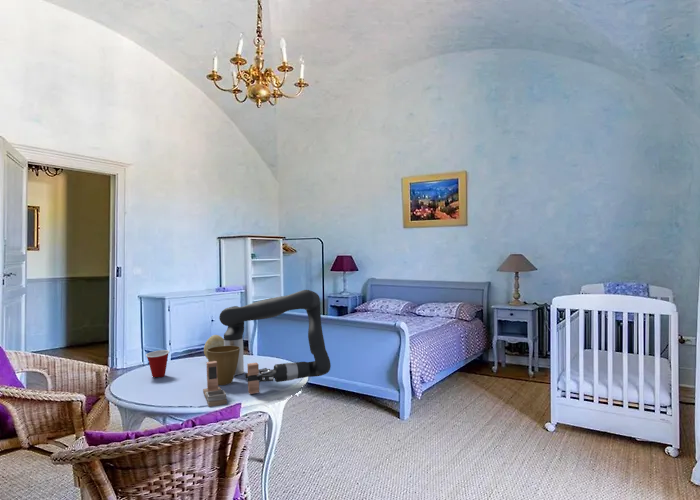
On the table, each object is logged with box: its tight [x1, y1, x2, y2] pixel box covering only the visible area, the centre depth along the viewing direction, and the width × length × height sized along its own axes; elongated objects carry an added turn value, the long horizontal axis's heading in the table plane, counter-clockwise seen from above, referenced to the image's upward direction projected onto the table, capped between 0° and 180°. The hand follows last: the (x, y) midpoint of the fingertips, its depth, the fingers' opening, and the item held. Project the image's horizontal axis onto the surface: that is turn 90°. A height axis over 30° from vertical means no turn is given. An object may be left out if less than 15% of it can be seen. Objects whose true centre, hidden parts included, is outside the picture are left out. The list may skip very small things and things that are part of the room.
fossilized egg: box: [203, 334, 224, 360], centre depth 257 cm, size 13×13×15 cm
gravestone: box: [202, 361, 228, 408], centre depth 192 cm, size 21×7×14 cm, turn 23°
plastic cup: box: [145, 349, 170, 378], centre depth 230 cm, size 11×11×12 cm
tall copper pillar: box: [246, 362, 260, 395], centre depth 197 cm, size 4×4×12 cm
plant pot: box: [207, 346, 240, 386], centre depth 214 cm, size 15×15×16 cm
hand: (246, 377), depth 196 cm, fingers closed on tall copper pillar, 4 cm apart
